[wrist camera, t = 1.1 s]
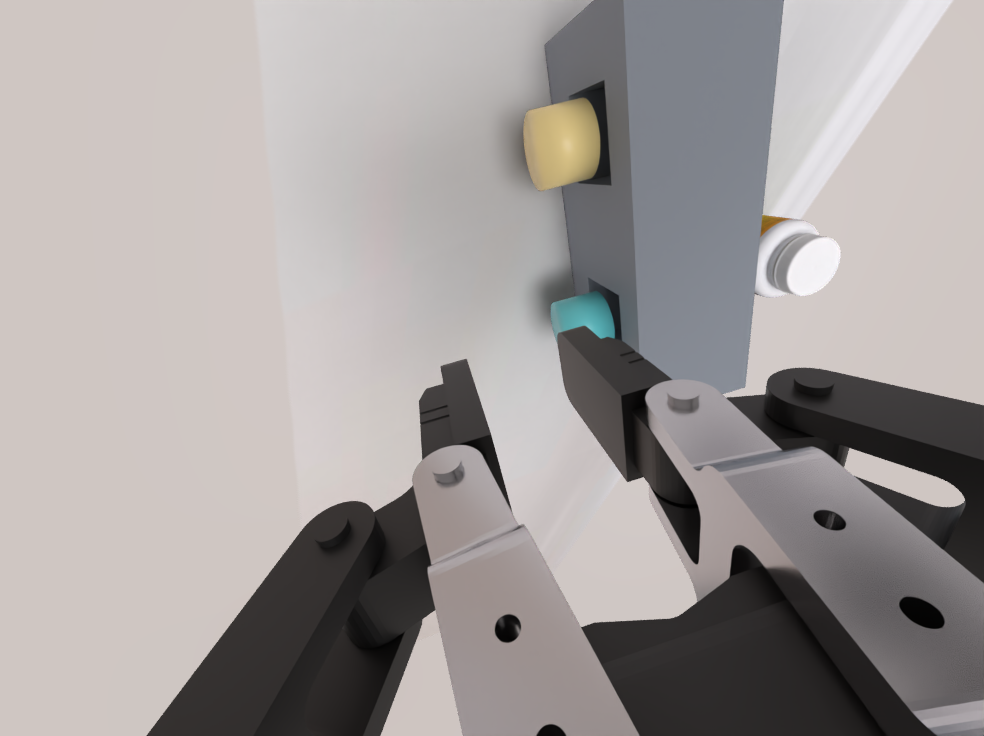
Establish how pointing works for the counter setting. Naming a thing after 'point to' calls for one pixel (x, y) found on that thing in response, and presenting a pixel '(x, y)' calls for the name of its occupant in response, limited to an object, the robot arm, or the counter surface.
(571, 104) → the mustard button
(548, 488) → the counter surface
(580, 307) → the teal button
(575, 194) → the console
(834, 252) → the supplement bottle
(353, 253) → the counter surface
